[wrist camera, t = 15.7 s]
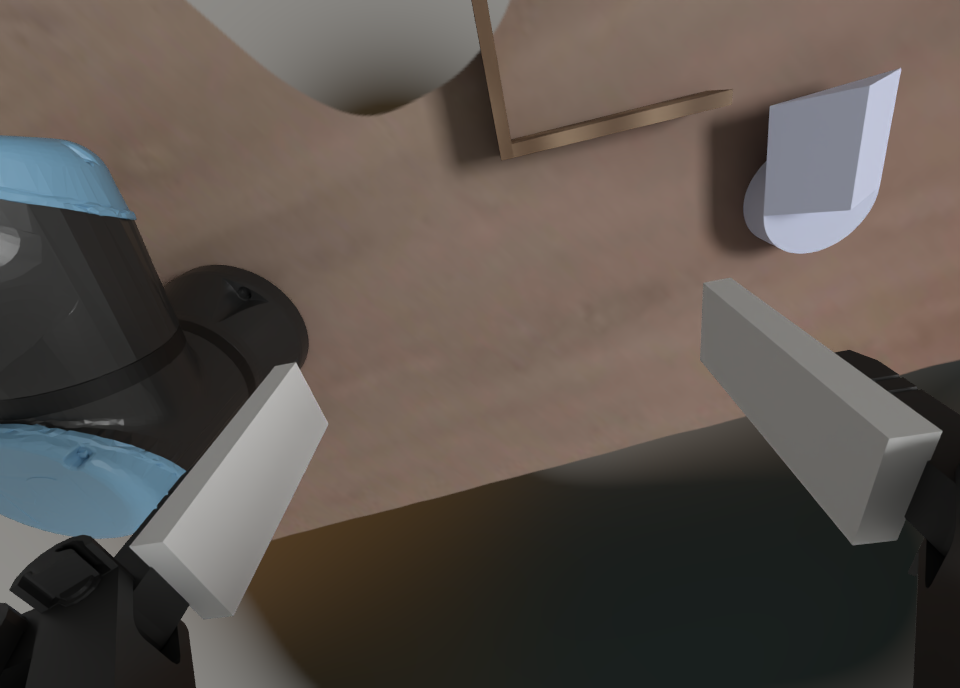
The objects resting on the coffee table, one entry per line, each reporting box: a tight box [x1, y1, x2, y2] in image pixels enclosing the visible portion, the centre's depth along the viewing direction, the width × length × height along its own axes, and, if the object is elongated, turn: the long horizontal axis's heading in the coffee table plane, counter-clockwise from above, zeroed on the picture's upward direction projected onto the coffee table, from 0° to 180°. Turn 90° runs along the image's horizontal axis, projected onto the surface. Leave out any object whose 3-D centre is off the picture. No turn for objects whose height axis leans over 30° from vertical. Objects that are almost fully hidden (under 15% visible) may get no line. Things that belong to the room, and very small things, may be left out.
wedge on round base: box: [743, 68, 901, 253], centre depth 34 cm, size 9×7×13 cm
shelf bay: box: [471, 0, 733, 160], centre depth 30 cm, size 18×16×4 cm
